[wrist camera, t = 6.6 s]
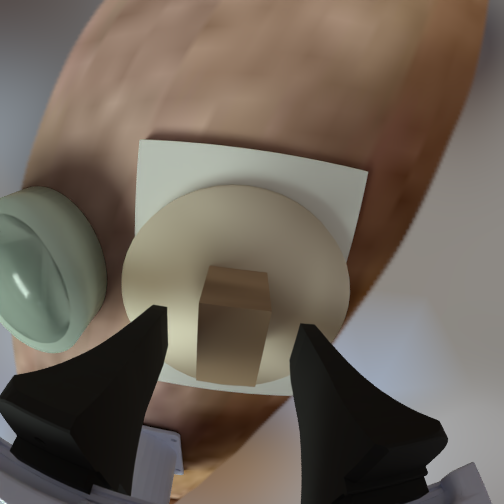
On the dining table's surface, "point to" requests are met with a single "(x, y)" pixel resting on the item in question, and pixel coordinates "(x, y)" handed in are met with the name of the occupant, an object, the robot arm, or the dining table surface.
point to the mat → (254, 174)
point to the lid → (236, 281)
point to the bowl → (48, 269)
